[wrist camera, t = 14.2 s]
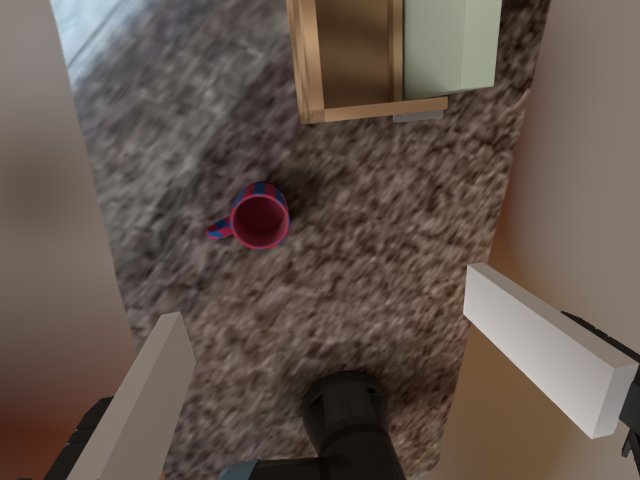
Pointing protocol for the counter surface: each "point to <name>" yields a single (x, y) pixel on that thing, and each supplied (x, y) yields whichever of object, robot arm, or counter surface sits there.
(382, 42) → the carcass
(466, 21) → the door
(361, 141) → the counter surface
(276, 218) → the mug
